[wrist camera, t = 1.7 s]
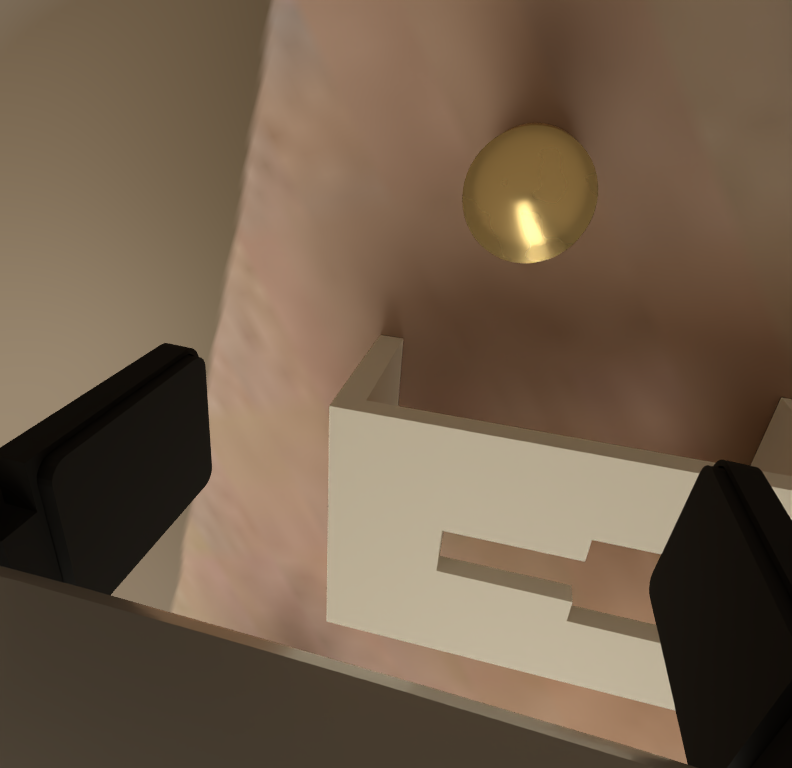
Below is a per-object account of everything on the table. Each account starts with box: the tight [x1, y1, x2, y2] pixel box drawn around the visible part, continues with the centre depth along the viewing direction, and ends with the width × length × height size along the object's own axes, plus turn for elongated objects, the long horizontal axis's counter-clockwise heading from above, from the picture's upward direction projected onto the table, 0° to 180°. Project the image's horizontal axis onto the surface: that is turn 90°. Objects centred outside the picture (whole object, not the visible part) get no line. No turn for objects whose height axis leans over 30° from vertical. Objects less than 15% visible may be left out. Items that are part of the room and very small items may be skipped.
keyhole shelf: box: [327, 335, 792, 711], centre depth 33 cm, size 26×16×10 cm, turn 86°
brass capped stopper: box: [462, 123, 598, 263], centre depth 25 cm, size 5×5×10 cm
